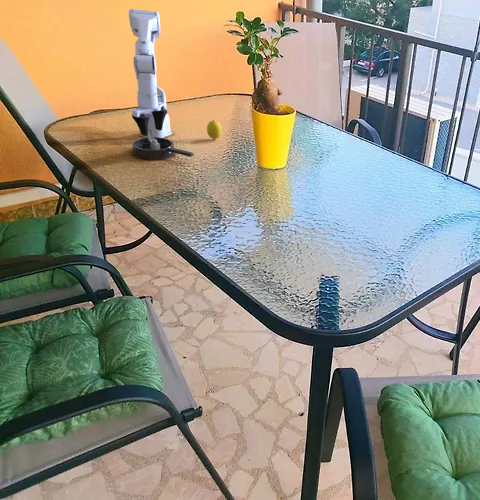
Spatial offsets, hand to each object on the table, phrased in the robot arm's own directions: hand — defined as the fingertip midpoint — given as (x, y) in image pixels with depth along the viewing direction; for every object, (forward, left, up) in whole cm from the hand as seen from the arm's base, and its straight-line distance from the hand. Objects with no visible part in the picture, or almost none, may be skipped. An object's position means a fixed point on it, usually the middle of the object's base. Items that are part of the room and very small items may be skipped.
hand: (151, 132), depth 163 cm
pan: (0, 0, -8) cm, 8 cm away
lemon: (-25, +9, -8) cm, 28 cm away
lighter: (0, 0, -8) cm, 8 cm away
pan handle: (0, +12, -5) cm, 13 cm away
